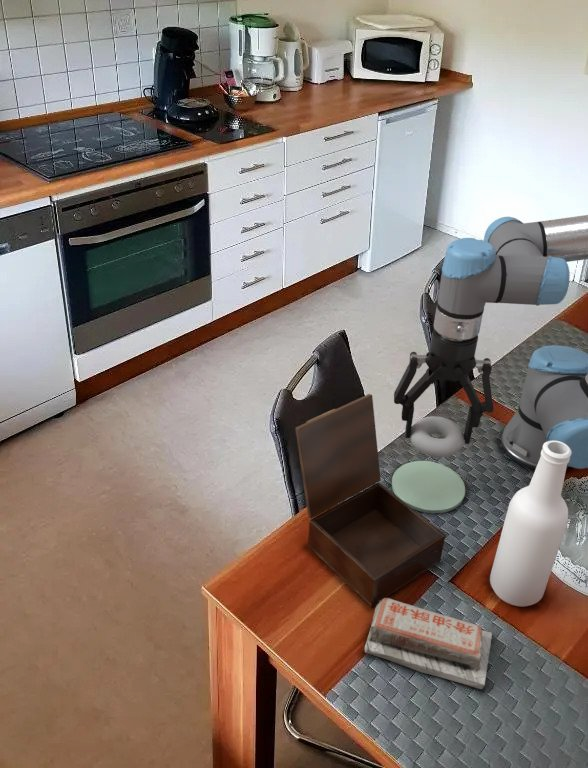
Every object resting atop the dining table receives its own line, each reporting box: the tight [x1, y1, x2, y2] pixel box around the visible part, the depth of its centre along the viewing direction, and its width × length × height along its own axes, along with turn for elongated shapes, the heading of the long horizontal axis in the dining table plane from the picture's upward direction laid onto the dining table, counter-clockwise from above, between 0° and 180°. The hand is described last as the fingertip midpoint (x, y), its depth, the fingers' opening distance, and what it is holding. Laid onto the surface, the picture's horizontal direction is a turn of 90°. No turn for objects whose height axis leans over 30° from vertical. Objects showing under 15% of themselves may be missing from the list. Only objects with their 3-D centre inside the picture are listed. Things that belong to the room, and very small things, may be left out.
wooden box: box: [307, 481, 447, 609], centre depth 126 cm, size 16×16×7 cm
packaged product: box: [363, 597, 493, 690], centre depth 111 cm, size 18×5×10 cm
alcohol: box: [489, 441, 572, 608], centre depth 114 cm, size 9×9×30 cm
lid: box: [294, 393, 382, 520], centre depth 127 cm, size 17×16×5 cm
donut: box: [409, 415, 465, 458], centre depth 135 cm, size 10×4×10 cm
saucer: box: [391, 460, 466, 514], centre depth 142 cm, size 14×14×1 cm
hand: (436, 436), depth 135 cm, fingers closed on donut, 10 cm apart
